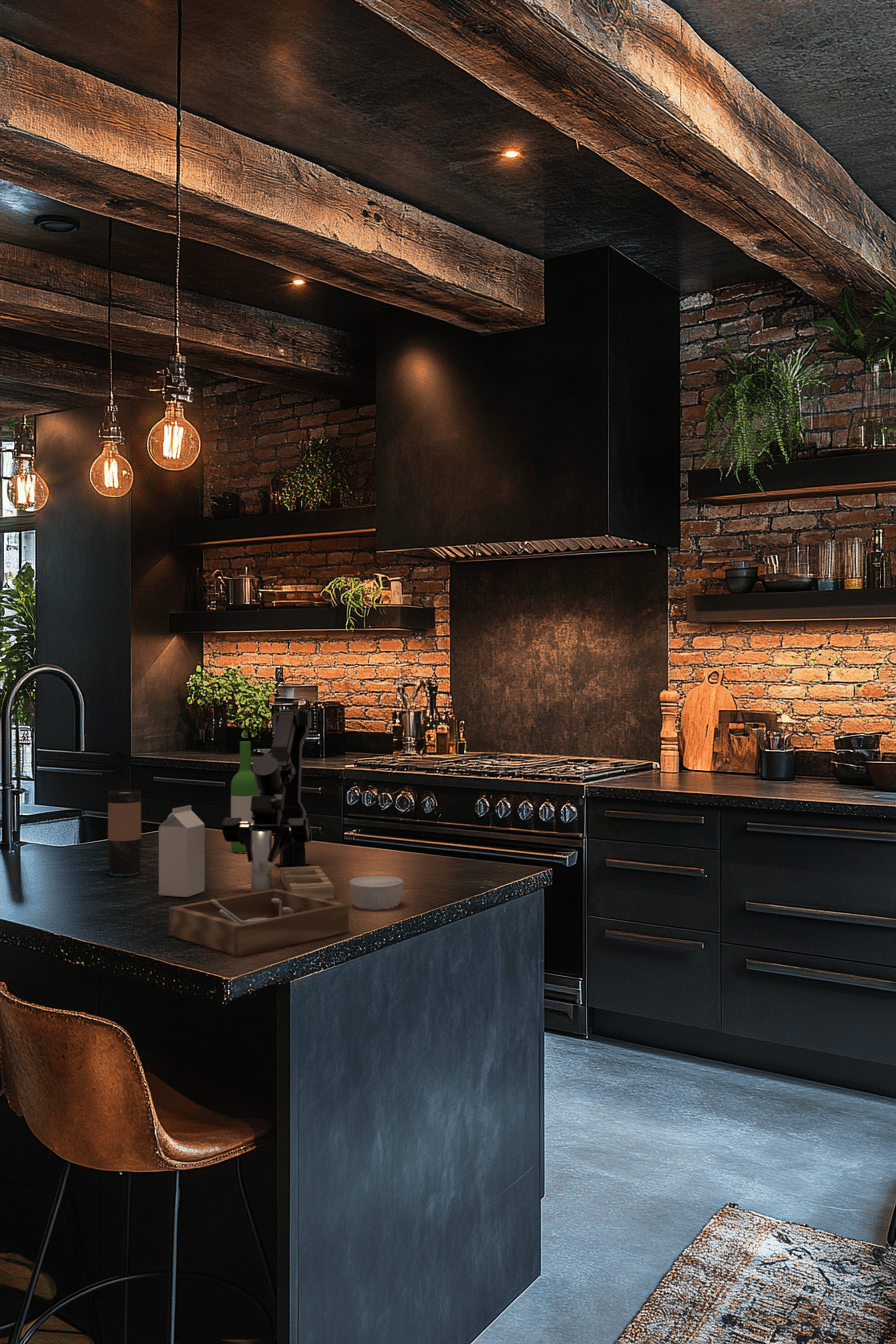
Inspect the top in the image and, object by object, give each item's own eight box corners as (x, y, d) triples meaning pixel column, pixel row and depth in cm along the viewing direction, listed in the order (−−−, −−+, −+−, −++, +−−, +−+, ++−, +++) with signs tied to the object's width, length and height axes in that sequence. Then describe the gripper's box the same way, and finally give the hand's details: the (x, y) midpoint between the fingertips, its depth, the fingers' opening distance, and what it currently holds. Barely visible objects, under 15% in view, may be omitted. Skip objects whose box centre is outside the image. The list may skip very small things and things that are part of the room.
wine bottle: (236, 849, 292) (236, 740, 292) (263, 849, 291) (263, 740, 291) (226, 853, 284) (226, 742, 284) (254, 854, 283) (254, 742, 283)
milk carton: (204, 891, 233) (204, 805, 233) (186, 898, 226) (186, 809, 227) (177, 889, 235) (177, 804, 236) (158, 896, 229) (158, 808, 229)
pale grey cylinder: (247, 895, 229) (247, 830, 229) (263, 892, 232) (263, 828, 232) (259, 898, 226) (259, 832, 226) (275, 895, 229) (275, 830, 229)
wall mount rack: (297, 938, 192) (297, 906, 192) (222, 945, 187) (222, 912, 187) (277, 920, 206) (277, 890, 206) (207, 926, 201) (207, 896, 201)
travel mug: (147, 873, 256) (147, 790, 256) (125, 878, 249) (125, 793, 249) (123, 870, 259) (123, 789, 259) (100, 876, 252) (100, 792, 252)
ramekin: (382, 914, 211) (382, 887, 211) (338, 908, 217) (338, 882, 217) (413, 904, 220) (413, 878, 220) (370, 898, 226) (370, 873, 226)
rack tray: (168, 934, 194) (168, 907, 194) (275, 913, 211) (275, 888, 211) (239, 956, 178) (239, 927, 178) (348, 931, 196) (348, 904, 196)
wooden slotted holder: (280, 878, 249) (280, 867, 249) (318, 876, 251) (318, 865, 251) (291, 900, 223) (291, 888, 223) (334, 898, 226) (334, 886, 226)
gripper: (223, 781, 234) (210, 838, 222) (307, 781, 233) (298, 839, 222) (231, 812, 241) (219, 869, 230) (312, 812, 241) (304, 869, 230)
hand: (260, 861), depth 228 cm, fingers closed on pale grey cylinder, 4 cm apart
